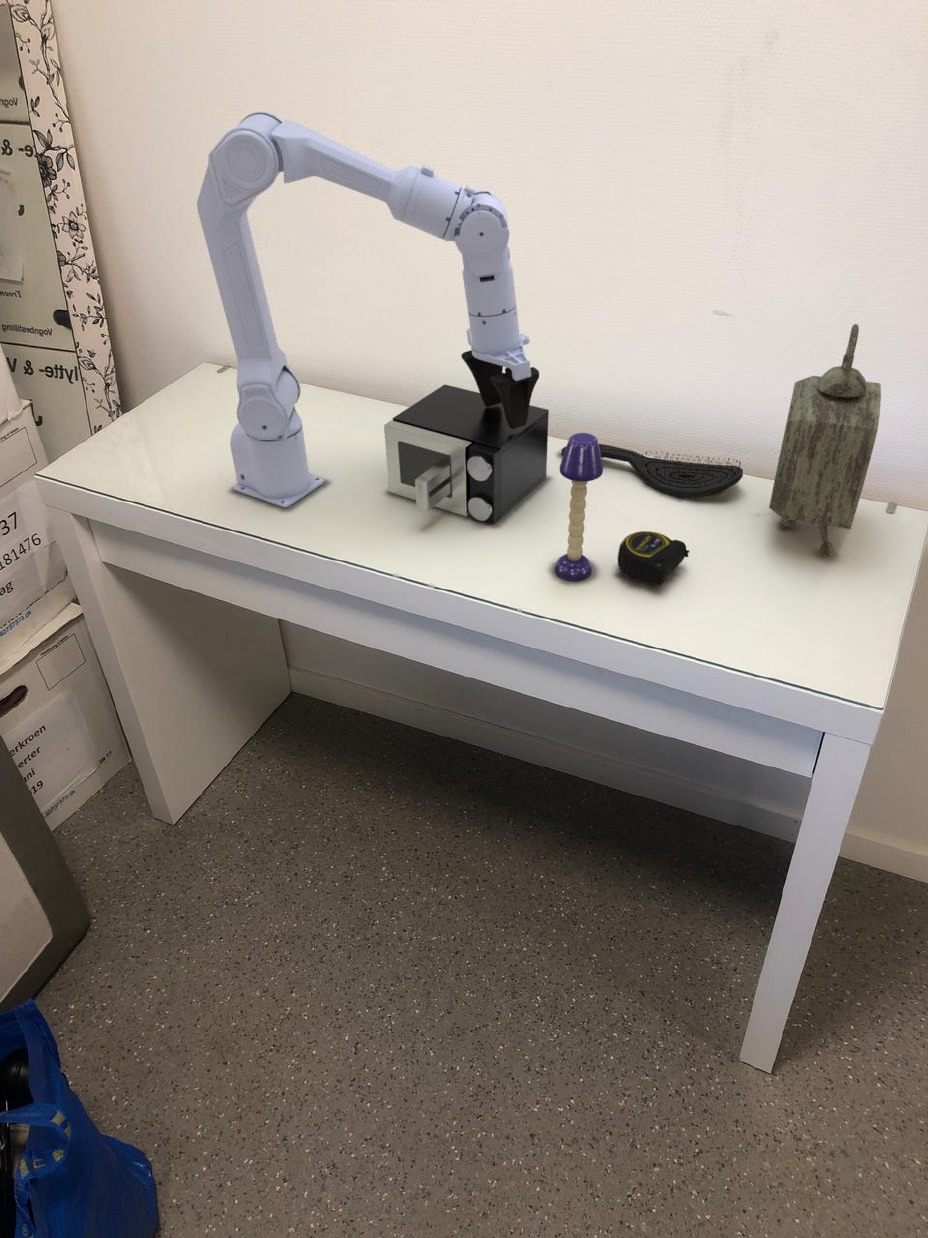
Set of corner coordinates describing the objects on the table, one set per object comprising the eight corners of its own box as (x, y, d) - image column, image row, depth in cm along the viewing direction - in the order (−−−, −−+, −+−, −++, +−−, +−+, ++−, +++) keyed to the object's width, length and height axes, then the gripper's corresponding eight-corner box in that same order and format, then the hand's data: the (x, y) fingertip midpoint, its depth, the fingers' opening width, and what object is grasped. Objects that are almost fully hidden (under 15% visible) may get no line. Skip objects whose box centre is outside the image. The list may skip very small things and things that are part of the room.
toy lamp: (553, 557, 108) (559, 428, 98) (593, 557, 108) (603, 427, 98) (555, 581, 105) (562, 449, 94) (596, 581, 104) (607, 448, 94)
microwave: (490, 528, 114) (490, 455, 108) (386, 495, 121) (380, 425, 115) (546, 478, 123) (548, 409, 117) (447, 450, 130) (444, 383, 124)
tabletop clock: (840, 567, 105) (898, 357, 90) (759, 553, 108) (802, 347, 93) (845, 505, 116) (898, 308, 101) (771, 494, 119) (811, 300, 103)
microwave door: (441, 538, 112) (437, 467, 106) (362, 512, 117) (355, 443, 111) (473, 511, 117) (472, 441, 111) (396, 487, 122) (391, 419, 116)
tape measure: (659, 596, 102) (663, 568, 100) (605, 575, 105) (607, 548, 103) (687, 567, 106) (691, 540, 104) (634, 548, 109) (637, 522, 107)
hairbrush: (575, 422, 130) (752, 453, 119) (575, 446, 132) (748, 478, 121) (549, 447, 124) (732, 481, 113) (550, 472, 126) (729, 507, 116)
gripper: (550, 315, 102) (559, 426, 110) (498, 283, 113) (510, 386, 122) (492, 332, 101) (506, 443, 109) (445, 298, 112) (461, 401, 120)
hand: (505, 414), depth 115 cm, fingers open, 7 cm apart
